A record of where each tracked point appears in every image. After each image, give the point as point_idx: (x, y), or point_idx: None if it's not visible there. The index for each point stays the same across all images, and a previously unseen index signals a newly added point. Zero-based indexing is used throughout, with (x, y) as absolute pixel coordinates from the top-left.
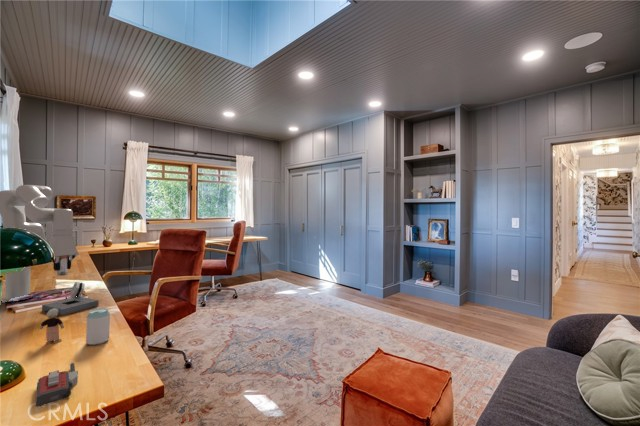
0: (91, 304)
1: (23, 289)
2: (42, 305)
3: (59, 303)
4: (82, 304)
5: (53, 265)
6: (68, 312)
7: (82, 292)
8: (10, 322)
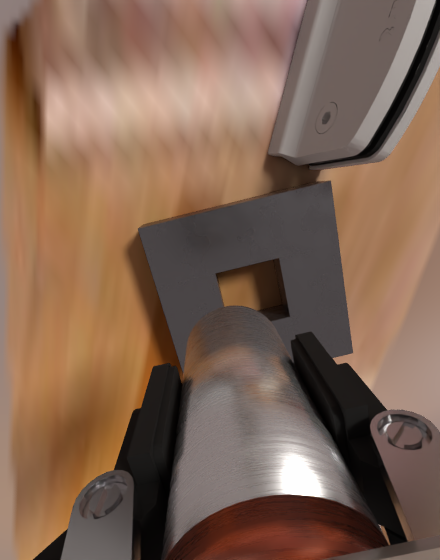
0: None
1: None
2: (139, 231)
3: (207, 270)
4: None
5: (122, 444)
6: None
7: (364, 163)
8: (23, 314)
